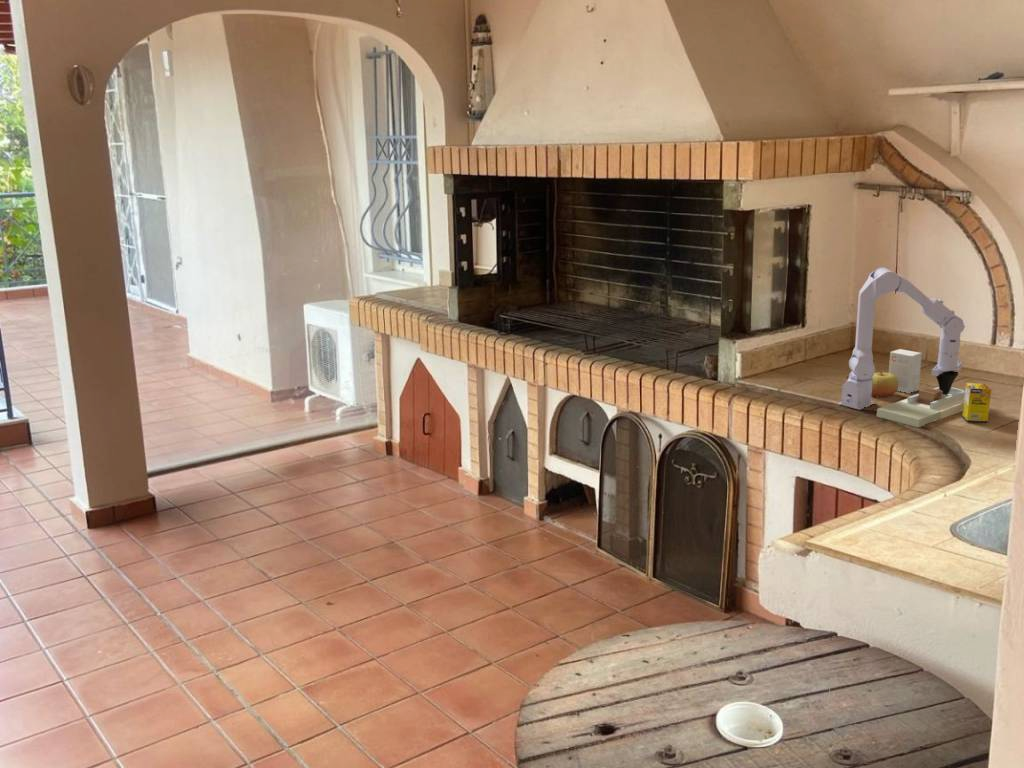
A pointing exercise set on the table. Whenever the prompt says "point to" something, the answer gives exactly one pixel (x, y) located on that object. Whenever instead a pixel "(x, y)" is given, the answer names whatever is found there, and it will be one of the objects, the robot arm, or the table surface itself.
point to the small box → (906, 369)
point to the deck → (923, 409)
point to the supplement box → (976, 403)
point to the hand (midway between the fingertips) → (944, 393)
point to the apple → (884, 384)
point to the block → (929, 395)
